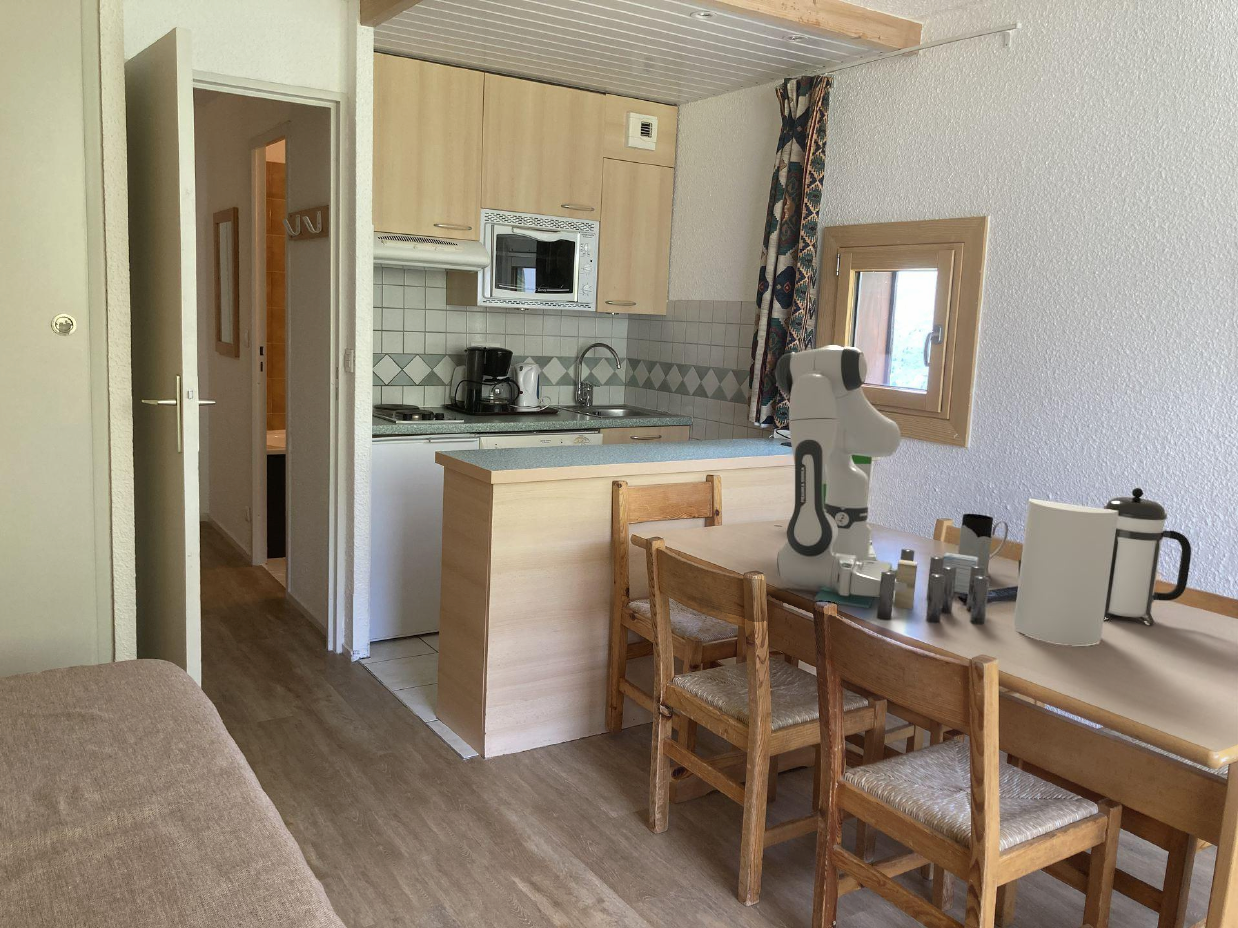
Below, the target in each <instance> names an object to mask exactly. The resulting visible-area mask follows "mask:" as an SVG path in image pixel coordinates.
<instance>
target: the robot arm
mask: <svg viewBox="0 0 1238 928" xmlns="http://www.w3.org/2000/svg"><path fill="white" fill-rule="evenodd" d="M867 374H868V363H867V361H866V358H865V355H864V353H863V352H862V351H861V350H860V349H858V347H852V346H844V347H842V346H839V345H837V344H835V345H834V344H832V345H830V344H829V345H828V344H827V345H824V346H822V347H819V348H816V349H809V350H803V351H799V352H794V351H792V352H789V353H786V354H782V355H781V356H780V358H779V359H778V360H777V362H776V367H775V380H776V383H777V387H778V389H779V390H780V391H781V392H782V393H783V394H785V395H787V396H788V398H789V406H788V407H789V408H788V411H789V412H788V425H789V428H788V429H789V438H790V443H791V450H792V451H791V452H792V455H793V461H794V462H793V463H794V509H793V513H792V515H791V517H790V520H789V522H788V526H787V529H786V538H787V541H786V542H785V543H784V545H783V546H782V547H781V548H780V549H779V550H778V553H777V559H776V560H777V561H776V562H777V563H776V566H777V571H778V575H779V576H780V577H781V580H783V581H785V582H787V583H788V584H792V585H795V586H796V585H797V586H801V587H808V588H813V589H814V588H822V587H823V588H826V589H828V590H832V591H838V593H839V594H840V595H843V596H849V595H850V593H851V594H853V595H861V596H874V597H879V592H880V582H881V572H884V571H887V572H893V573H895V574H896V577H897V569H896V568H893V564H892V563H891V562H888V561H882V560H877V555H876V552H875V549H874V546H873V542H872V540H871V536H872V528H871V526H870V525H868V522H867V520H868V516H869V507H868V501H867V499H868V498H869V491H868V489H870V481H869V480H868V477H867V475H866V474H865V473H864V472H863V471H862V470H860V469H859V468H857V467H856V465H855V464H854V462H853V460H852V455H859V456H866V457H872V458H884V457H890V456H892V455H894V453H895V452H896V451H897V449H898V448H899V447H900V444H901V440H902V439H901V436H902V435H901V430H900V428H899V425H898V423H897V422H896V421H894V420H892V419H890V418H889V417H886V415H883V414H882V413H880V411H879V410H878V409H876V408H875V407H874V406H873V405H872V404H871V403H870V402H869V400H868V399H867V397H866V396H865V394H864V391H863V388H862V385H864V384H865V382H866V379H867V378H866V377H867ZM824 467H825V469H826V475H827V486H826V501H825V502H824V506H823V472H824ZM868 500H869V499H868ZM896 577H895V580H896ZM906 590H907V583H906V582H901V581H899V582H896V581H895V587H894V592H895V591H906ZM874 597H873V598H874Z"/></svg>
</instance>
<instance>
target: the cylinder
mask: <svg viewBox="0 0 1238 928" xmlns="http://www.w3.org/2000/svg"><path fill="white" fill-rule="evenodd" d="M1025 518H1026V521H1025V525H1024V527H1025V528H1024V534H1023V535H1024V536H1023V544H1022V551H1021V558H1020V559H1021V567H1020V575H1019V574H1018V584H1017V585H1018V586H1017V593H1016V601H1015V610H1014V616H1013V617H1014V618H1013V626H1014V627H1015V629H1016V630H1019V631H1020V632H1022V633H1024V634H1027V635H1028V636H1032V637H1035V638H1038V639H1042V640H1045V641H1050V642H1054V643H1061V644H1068V645H1087V644H1093V643H1097V642H1099V641H1100V640H1101V641H1102V634H1103V626H1104V621H1105V620H1104V614H1105V606H1106V599H1107V592H1108V584H1109V577H1110V569H1111V562H1112V555H1113V547H1114V540H1115V533H1116V525H1117V518H1118V511H1116V510H1109V509H1104V508H1102V507H1101V508H1100V507H1093V506H1086V505H1079V504H1071V503H1065V502H1064V503H1063V502H1058V501H1057V502H1056V501H1050V500H1042V499H1035V498H1028V503H1027V512H1026V517H1025ZM1013 626H1012V627H1013ZM1015 629H1014V630H1015ZM1016 630H1015V631H1016Z"/></svg>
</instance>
